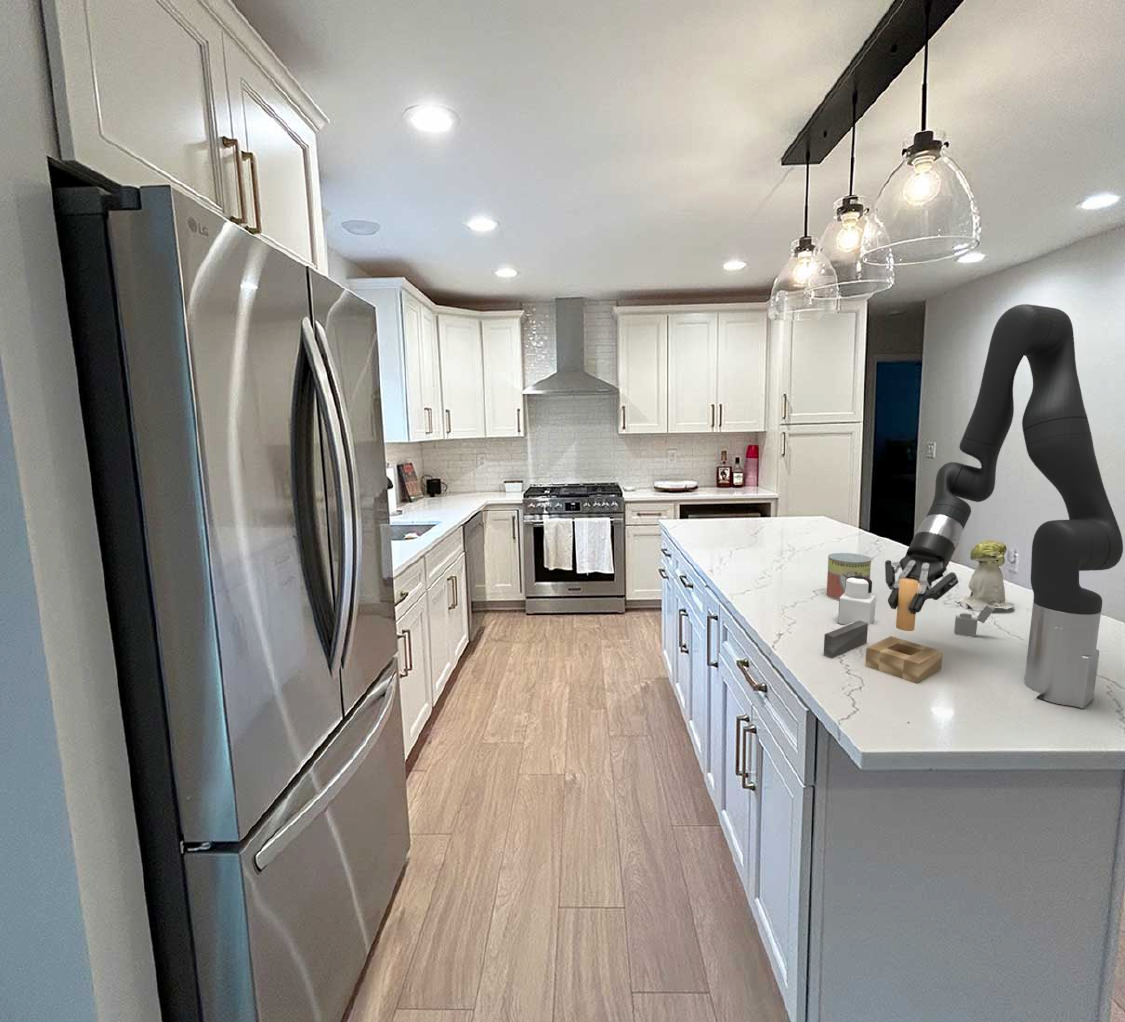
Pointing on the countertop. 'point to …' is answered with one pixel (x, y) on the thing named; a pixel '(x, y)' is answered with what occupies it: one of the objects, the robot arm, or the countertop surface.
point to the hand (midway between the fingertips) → (901, 609)
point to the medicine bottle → (857, 601)
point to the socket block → (904, 659)
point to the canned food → (845, 571)
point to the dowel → (906, 604)
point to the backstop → (845, 639)
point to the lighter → (971, 622)
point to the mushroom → (987, 578)
